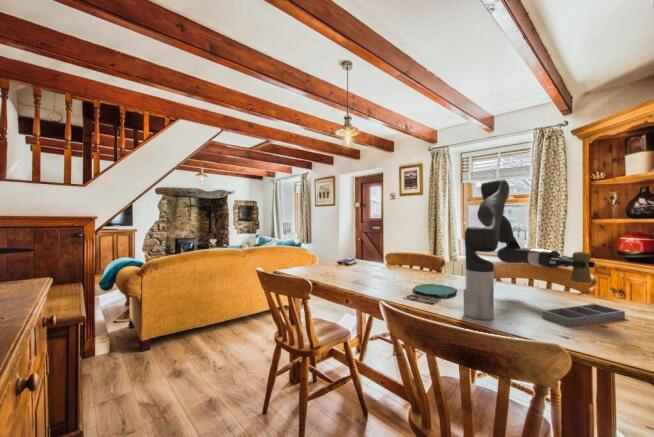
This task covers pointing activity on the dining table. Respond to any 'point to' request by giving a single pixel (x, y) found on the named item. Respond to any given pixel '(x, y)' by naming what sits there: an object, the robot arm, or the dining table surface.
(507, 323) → the dining table surface
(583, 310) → the frame
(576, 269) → the cork
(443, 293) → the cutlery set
